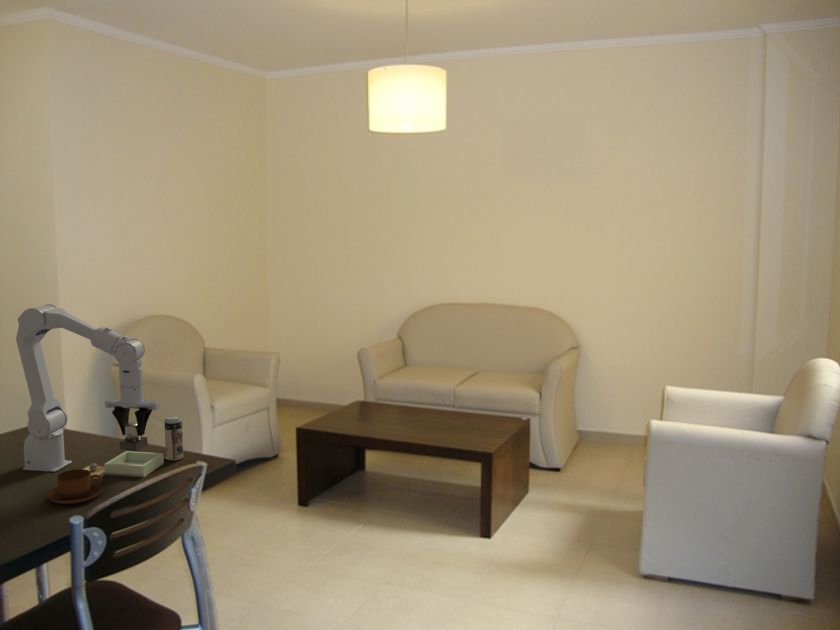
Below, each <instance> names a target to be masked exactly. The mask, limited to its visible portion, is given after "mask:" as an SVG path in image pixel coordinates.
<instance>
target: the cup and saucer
mask: <svg viewBox="0 0 840 630" xmlns="http://www.w3.org/2000/svg"><path fill="white" fill-rule="evenodd" d="M83 469H84V468H82V469H81V468H80V469H70V470H66V471H63V472H61V473H59V474H57V476H56V478H57V479H56V480H57V487H55V488H53V489H51V490H50V491H49V492H48V493H47V499H49V500H50V502H53V503H55V504H59V505H60V504H61V505H72V504H73V505H74V504H79V503H80V504H81V503H83V502H88V501H90V500H92V499H94V498H95V497H97V496H99V494H100V493H101V492H102V488H103V487H102V484H101V483H102V482H103V477H101V476H100V475H97V474H95V475H90V471H88V470H83ZM93 477H98V478H99V479H98V482H95V483H94V482H91V481H92V479H93Z"/></svg>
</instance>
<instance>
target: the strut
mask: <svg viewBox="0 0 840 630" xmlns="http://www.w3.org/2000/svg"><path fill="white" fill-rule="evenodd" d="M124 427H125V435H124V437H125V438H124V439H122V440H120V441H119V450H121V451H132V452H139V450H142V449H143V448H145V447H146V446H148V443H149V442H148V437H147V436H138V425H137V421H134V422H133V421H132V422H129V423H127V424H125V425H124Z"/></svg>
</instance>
